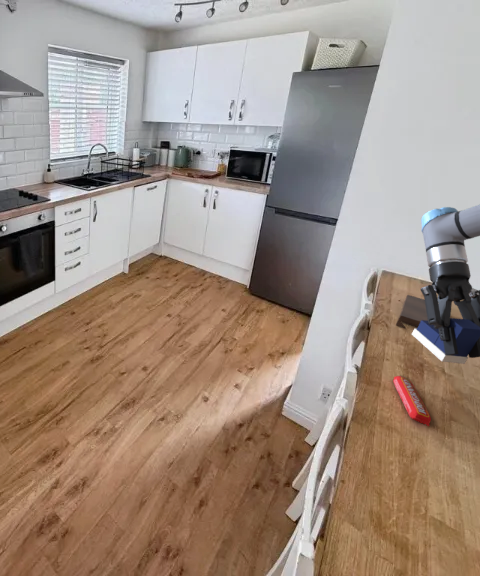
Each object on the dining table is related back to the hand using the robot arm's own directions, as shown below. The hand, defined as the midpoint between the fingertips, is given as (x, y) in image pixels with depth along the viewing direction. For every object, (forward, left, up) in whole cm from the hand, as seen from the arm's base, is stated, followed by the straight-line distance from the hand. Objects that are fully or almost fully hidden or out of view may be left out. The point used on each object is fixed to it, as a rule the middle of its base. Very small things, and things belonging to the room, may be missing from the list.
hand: (463, 355), depth 88 cm
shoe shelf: (-10, -38, -11) cm, 41 cm away
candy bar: (+11, +9, -11) cm, 18 cm away
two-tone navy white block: (+1, -7, -3) cm, 8 cm away
